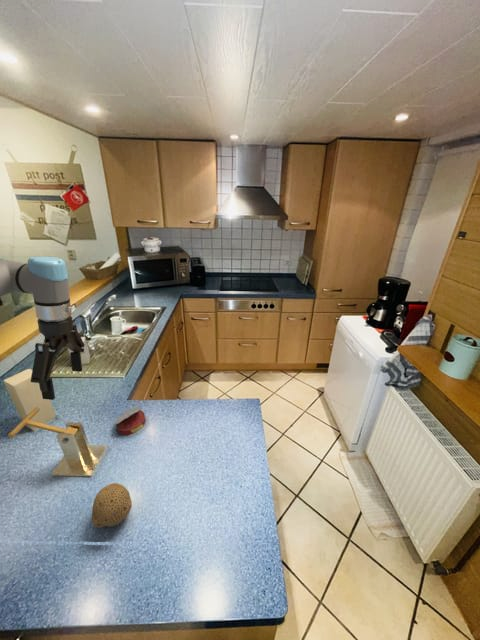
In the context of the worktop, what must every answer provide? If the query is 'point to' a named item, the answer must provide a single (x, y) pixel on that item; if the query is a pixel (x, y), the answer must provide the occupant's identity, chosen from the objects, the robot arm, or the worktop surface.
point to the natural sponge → (111, 505)
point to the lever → (40, 425)
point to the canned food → (130, 421)
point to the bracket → (77, 454)
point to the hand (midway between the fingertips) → (64, 383)
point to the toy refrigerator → (29, 398)
